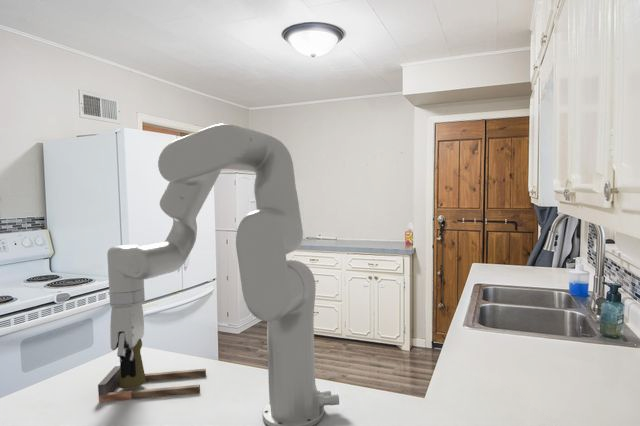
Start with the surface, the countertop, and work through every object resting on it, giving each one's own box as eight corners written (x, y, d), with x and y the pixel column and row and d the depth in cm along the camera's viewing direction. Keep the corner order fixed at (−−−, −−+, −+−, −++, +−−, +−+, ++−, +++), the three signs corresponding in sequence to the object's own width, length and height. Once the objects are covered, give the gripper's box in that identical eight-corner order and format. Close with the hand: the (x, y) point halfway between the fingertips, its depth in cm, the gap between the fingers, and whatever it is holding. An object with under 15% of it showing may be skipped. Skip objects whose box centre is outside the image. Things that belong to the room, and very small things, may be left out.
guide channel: (205, 374, 106) (205, 359, 106) (199, 393, 96) (198, 376, 95) (115, 382, 103) (114, 366, 103) (98, 402, 93) (97, 384, 93)
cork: (135, 389, 95) (133, 342, 95) (112, 388, 97) (110, 341, 96) (151, 378, 101) (148, 334, 101) (129, 376, 102) (126, 333, 102)
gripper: (122, 290, 106) (126, 361, 106) (96, 307, 89) (101, 390, 90) (153, 288, 106) (156, 359, 107) (132, 304, 90) (137, 387, 91)
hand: (131, 372), depth 98 cm, fingers closed on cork, 3 cm apart
